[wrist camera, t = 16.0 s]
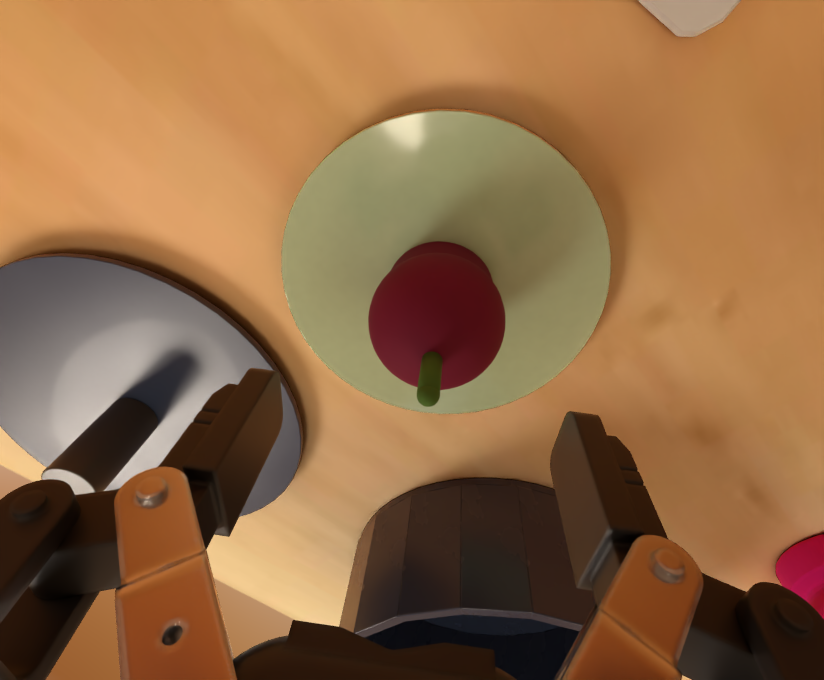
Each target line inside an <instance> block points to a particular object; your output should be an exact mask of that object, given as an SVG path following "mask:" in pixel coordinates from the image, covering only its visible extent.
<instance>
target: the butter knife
mask: <svg viewBox="0 0 824 680" xmlns="http://www.w3.org/2000/svg"><path fill="white" fill-rule="evenodd" d="M638 1H639V2H640V3H641V4H642V5H643V6H644V7H645V8H646V9H647V10H648V11H650V12H651V13H652V14H653V15H654V16H655V17H656V18H657V19H658V20H660V21H661V22H662V23H663V24H664V25H665V26H666V27H667V28H668V29H670V30H671V31H672V32H673V33H674V34H675V35H676V36H683V37H696V36H698V35H699V34H701V33H703V32H705V31H707V30H709V29H711V28H712V27H714V26H716V25H718V24H720V23H722V22H723V21H724V20H725V18H726V17H727V16H728V15H729V14H730V13H731V12H732V10H733V9H734V8H735V7H736V6H737V5H738V3H739V2H740V1H741V0H638Z"/></svg>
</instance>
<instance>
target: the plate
mask: <svg viewBox="0 0 824 680" xmlns="http://www.w3.org/2000/svg"><path fill="white" fill-rule="evenodd" d="M437 241H442V242H450V243H455V244H458V245H461V246H463V247H465V248H468V249H469V250H471V251H472V252H474V253H475V254H476V255H477V256H479V257H480V258H481V260H482V261H483V262H484V263H485V265H486V266H487V268H488V270H489V272H490V274H491V277H492V280H493V283H494V284H495V286H496V287H497V289H498V291H499V293H500V295H501V298H502V301H503V305H504V309H505V318H506V322H505V333H504V338H503V342H502V345H501V348H500V350H499V352H498V354H497V355H496V357H495V359H494V360H493V362H492V363H491V364H490V365H489V367H488V368H487V369H486V370H485V371H484V372H483V373H482V374H480V375H479V376H478V377H477V378H475V379H473V380H472V381H470V382H468V383H466V384H464V385H461V386H459V387H456V388H451V389H446V390H440V398H439V401H438V402H437V403H436V404H435V405H434V406H431V407H426V406H423V405H421V404H420V403H419V402H418V400H417V387H415V386H412V385H410V384H407V383H405V382H404V381H402V380H400V379H399V378H397V377H396V376H395V375H393V374H392V373H391V372H390V371H389V370H388V369H387V368H386V367H385V366H384V365H383V363H382V362H381V360H380V359H379V357H378V356H377V354H376V352H375V350H374V348H373V345H372V342H371V339H370V334H369V325H368V316H369V309H370V305H371V301H372V298H373V295H374V293H375V291H376V289H377V287H378V286H379V284H380V283H381V281H382V280H383V278H384V277H385V276H386V275H387V274H388V273H389V272H390V271H391V269H392V267H393V266H394V264H395V263H396V261H397V260H398V259H399V258H400V257H401V256H402V255H403V254H404V253H405V252H407V251H408V250H410V249H412V248H414V247H416V246H418V245H421V244H424V243H428V242H437ZM281 261H282V278H283V285H284V291H285V294H286V298H287V302H288V305H289V308H290V311H291V313H292V316H293V318H294V320H295V323H296V325H297V327H298V328H299V330H300V332H301V334H302V335H303V337H304V339H305V340H306V342H307V343H308V344H309V346H310V347H311V348H312V350H313V351H314V352H315V354H316V355H317V356H318V357H319V358H320V359H321V360H322V361H323V362H324V364H325V365H326V366H327V367H328V368H329V369H331V370H332V371H333V372H334V373H335V374H336V375H338V376H339V377H340V378H341V379H342V380H344V381H345V382H347V383H348V384H350V385H351V386H353V387H354V388H356V389H357V390H359V391H361V392H363V393H365V394H367V395H369V396H371V397H372V398H375V399H377V400H380V401H382V402H385V403H387V404H390V405H393V406H397V407H400V408H404V409H408V410H413V411H418V412H424V413H436V414H460V413H470V412H477V411H482V410H487V409H491V408H495V407H498V406H501V405H504V404H507V403H511V402H513V401H515V400H517V399H520V398H522V397H524V396H526V395H528V394H530V393H532V392H533V391H535V390H537V389H539V388H540V387H542V386H544V385H545V384H546V383H548V382H549V381H550V380H552V379H553V378H554V377H556V376H557V375H558V374H559V373H560V372H561V371H562V370H563V369H565V368H566V367H567V366H568V365H569V364H570V363H571V362H572V361H573V359H574V358H575V357H576V356H577V355H578V353H579V352H580V351H581V350H582V349H583V347H584V346H585V344H586V343H587V341H588V339H589V338H590V336H591V335H592V333H593V331H594V330H595V327H596V325H597V323H598V321H599V319H600V316H601V314H602V312H603V308H604V305H605V301H606V298H607V295H608V289H609V282H610V275H611V250H610V244H609V238H608V232H607V228H606V225H605V222H604V219H603V216H602V213H601V209H600V207H599V205H598V203H597V201H596V199H595V197H594V196H593V194H592V192H591V190H590V188H589V186H588V185H587V184H586V182H585V181H584V180H583V178H582V177H581V175H580V174H579V173H578V171H577V170H576V169H575V168H574V167H573V166H572V165H571V164H570V163H569V162H568V161H567V160H566V159H565V158H564V157H563V156H562V155H561V153H560V152H559V151H558V150H557V149H555V148H554V147H553V146H551V145H550V144H549V143H547V142H546V141H545V140H543V139H542V138H541V137H539V136H538V135H537V134H535V133H533V132H531V131H529V130H527V129H526V128H524V127H522V126H520V125H518V124H516V123H514V122H512V121H509V120H506V119H503V118H500V117H497V116H494V115H492V114H487V113H482V112H477V111H472V110H466V109H446V108H438V109H428V110H419V111H413V112H409V113H405V114H401V115H397V116H393V117H390V118H388V119H385V120H383V121H381V122H378V123H376V124H373V125H371V126H369V127H367V128H365V129H364V130H362V131H360V132H359V133H357V134H356V135H354V136H352V137H351V138H349V139H347V140H346V141H344V142H343V143H342V144H341V145H340V146H338V147H337V148H336V149H335V150H334V151H332V152H331V153H330V154H329V155H328V156H326V157H325V159H324V160H323V161H322V162H321V163H320V164H319V165H318V166H317V168H316V169H315V170H314V171H313V172H312V173H311V174H310V176H309V178H308V179H307V181H306V182H305V184H304V185H303V187H302V188H301V190H300V191H299V193H298V195H297V197H296V200H295V202H294V204H293V206H292V208H291V211H290V213H289V217H288V220H287V224H286V227H285V231H284V237H283V244H282V251H281Z"/></svg>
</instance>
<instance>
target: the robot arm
mask: <svg viewBox="0 0 824 680" xmlns="http://www.w3.org/2000/svg"><path fill="white" fill-rule="evenodd" d="M282 421H283V405H282V393H281V381H280V374H279V372H278V371H272V370H265V369H257V368H250V369H249V370H248V371H247V372H246V374H245V375H244V376H243V378H242V379H241V381H240V382H239V384H238V385H237V384H230V383H228V384H227V385H225V386H224V387H222V388H221V389H219V390H218V391H216V392H215V393H213V394H212V395H211V396H210V398H209V399H208V400H207V402H206V403H205V404H204V406H203V407H202V410H201V411H199V413H198V414H197V415H196V417H195V418H194V419H193V423H192V422H191V423H190V425H189V426H188V427H187V429H186V430H185V431H184V433H183V434H182V435H181V437H180V438H179V440H178V441H177V442H176V444H175V445H174V446H173V448H172V449H171V450H170V452H169V453H168V454H167V456H166V457H165V458H164V460H163V461H162V462H161V464H160V465H159V466H158V467H156V468H152V469H148V470H145V471H143V472H141V473H139V474H136V475H135V476H133V477H132V478H130V479H129V480H128V481H127V482H125V483H124V484H123V486H122V487H121V488H120V489H115V490H109V491H101V492H93V493H86V494H78V495H75V494H74V492H73V490H72V488H71V486H70V485H69V484H68V483H66V482H64V481H62V480H56V479H47V480H40V481H35V482H32V483H29V484H26V485H24V486H21V487H19V488H18V489H16V490H14V491H12V492H10V493H9V494H7V495H6V496H5V497H4V498H2V499H1V500H0V680H46V678H47V677H48V675H49V673H50V672H51V670H52V668H53V667H54V665H55V664H56V662H57V660H58V659H59V657H60V656H61V654H62V652H63V651H64V649H65V647H66V646H67V644H68V642H69V641H70V639H71V637H72V636H73V634H74V633H75V631H76V629H77V628H78V626H79V625H80V623H81V621H82V620H83V618H84V616H85V615H86V613H87V612H88V610H89V608H90V607H91V605H92V603H93V602H94V600H95V598H96V597H97V595H98V594H99V592H100V591H104V590H109V589H114V588H116V590H115V610H116V623H117V635H118V650H119V664H120V677H121V680H517V679H515V678H514V677H512V676H511V675H509V674H508V673H506V672H505V671H503V670H501V669H499V668H497V667H495V655H494V650H491V649H485V648H478V647H471V646H464V645H458V644H451V643H438V644H431V645H424V646H418V647H411V648H404V649H398V650H391V649H387V648H385V647H383V646H381V645H379V644H376V643H374V642H372V641H370V640H368V639H366V638H364V637H361V636H359V635H357V634H355V633H353V632H351V631H349V630H347V629H344V628H342V627H336V626H330V625H323V624H316V623H309V622H303V621H296V620H293V621H292V625H291V628H290V632H289V635H288V636H283V637H278V638H275V639H271V640H268V641H265V642H263V643H261V644H258V645H256V646H254V647H252V648H250V649H249V650H247V651H245V652H243V653H242V654H240V655H239V656H237V657H236V658H233V653H232V649H231V645H230V641H229V638H228V634H227V630H226V626H225V622H224V619H223V614H222V611H221V607H220V602H219V599H218V594H217V590H216V586H215V582H214V578H213V574H212V571H211V567H210V563H209V559H208V555H207V551H206V549H207V547H208V545H209V543H210V541H211V539H212V537H213V535H214V534H215V535H222V536H228V537H229V536H230V534H231V532H232V530H233V528H234V526H235V524H236V522H237V520H238V518H239V516H240V514H241V511H242V509H243V507H244V505H245V503H246V501H247V499H248V497H249V495H250V493H251V491H252V489H253V487H254V485H255V483H256V480H257V478H258V476H259V474H260V472H261V470H262V468H263V466H264V464H265V462H266V460H267V458H268V456H269V454H270V452H271V449H272V447H273V445H274V443H275V441H276V439H277V437H278V435H279V433H280V430H281V426H282ZM550 468H551V475H552V480H553V484H554V489H555V493H556V498H557V502H558V507H559V512H560V516H561V521H562V525H563V530H564V534H565V539H566V543H567V548H568V552H569V557H570V561H571V566H572V570H573V575H574V580H575V584H576V588H578V589H585V590H592V591H593V593H594V597H595V601H596V604H595V605H594V607H593V608H592V610H591V612H590V614H589V616H588V618H587V619H586V621H585V623H584V625H583V627H582V629H581V630H580V632H579V634H578V636H577V638H576V640H575V641H574V643H573V645H572V647H571V649H570V651H569V652H568V654H567V656H566V658H565V660H564V661H563V663H562V665H561V667H560V669H559V671H558V672H557V674H556V676H555V678H554V679H553V680H681V679H682V675H684V676H686V677H688V678H690V679H692V680H824V619H823V618H822V616H821V615H820V614H819V613H818V612H817V611H816V610H815V609H814V608H813V607H812V606H811V605H810V604H809V603H808V602H807V601H806V600H804V599H803V598H802V597H800V596H799V595H797V594H796V593H794V592H793V591H791V590H789V589H787V588H785V587H783V586H780V585H777V584H774V583H768V582H760V583H757V584H755V585H753V586H752V587H751V588H750V589H749V590H748V591H747V592H745V591H743V590H740V589H738V588H736V587H733V586H731V585H729V584H726V583H724V582H721V581H719V580H717V579H714V578H712V577H710V576H708V575H706V574H704V573H702V572H701V571H700V569H699V567H698V565H697V564H696V562H695V561H694V560H693V558H692V557H691V556H690V555H689V554H688V553H687V552H686V551H685V550H684V549H683V548H681V547H680V546H679V545H677V544H676V543H674V542H672V541H670V540H669V539H668V538H667V535H666V533H665V531H664V528H663V526H662V524H661V522H660V519H659V517H658V515H657V512H656V510H655V508H654V505H653V503H652V501H651V499H650V496H649V494H648V492H647V489H646V487H645V486H643V483H644V482H643V480H642V478H641V476H640V473H639V472H637V466H636V464H635V462H634V459H633V457H632V455H631V453H630V451H629V450H628V449H627V448H626V447H625V446H624V445H623V444H622V442H621V441H620V440H619V439H618V438H617V437H615V436H607V434H606V432H605V429H604V427H603V424H602V422H601V419H600V417H599V416H598V415H593V414H586V413H578V412H571V411H570V412H568V413H567V414H566V416H565V418H564V421H563V424H562V426H561V429H560V431H559V434H558V437H557V439H556V442H555V445H554V447H553V450H552V454H551V462H550Z"/></svg>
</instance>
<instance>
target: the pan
mask: <svg viewBox="0 0 824 680" xmlns="http://www.w3.org/2000/svg"><path fill="white" fill-rule="evenodd" d="M595 604H596V601H595V597H594V593H593V591H592V590H585V589H578V588H576V584H575V580H574V575H573V570H572V566H571V561H570V557H569V552H568V548H567V543H566V539H565V534H564V530H563V525H562V521H561V516H560V512H559V507H558V502H557V498H556V493H555V490H554V489H551V488H548V487H544V486H541V485H537V484H533V483H527V482H522V481H517V480H507V479H497V478H471V479H458V480H451V481H445V482H439V483H435V484H431V485H427V486H424V487H420V488H418V489H415V490H413V491H410V492H408V493H405V494H403V495H401V496H399V497H397V498H396V499H394V500H392V501H390V502H389V503H388V504H386V505H385V506H384V507H382V508H381V509H380V510H379V511H378V512H377V513H376V514H375V515H374V516H373V517H372V518H371V519H370V521H369V522H368V524H367V525H366V527H365V528H364V531H363V533H362V536H361V538H360V539H359V541H358V545H357V549H356V554H355V558H354V563H353V567H352V572H351V576H350V581H349V585H348V590H347V594H346V598H345V603H344V607H343V612H342V616H341V621H340V625H339V627H342V628H344V629H347V630H349V631H351V632H353V633H355V634H357V635H359V636H361V637H364V638H366V639H368V640H370V641H372V642H374V643H376V644H379V645H381V646H383V647H385V648H387V649H391V650H398V649H404V648H411V647H418V646H424V645H431V644H438V643H451V644H458V645H464V646H471V647H478V648H485V649H491V650H494V655H495V667H497V668H499V669H501V670H503V671H505V672H506V673H508V674H509V675H511V676H512V677H514V678H515V679H517V680H553V679H554V678H555V676H556V674H557V672H558V671H559V669H560V667H561V665H562V663H563V661H564V660H565V658H566V656H567V654H568V652H569V651H570V649H571V647H572V645H573V643H574V641H575V640H576V638H577V636H578V634H579V632H580V630H581V629H582V627H583V625H584V623H585V621H586V619H587V618H588V616H589V614H590V612H591V610H592V608H593V607H594V605H595Z"/></svg>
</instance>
